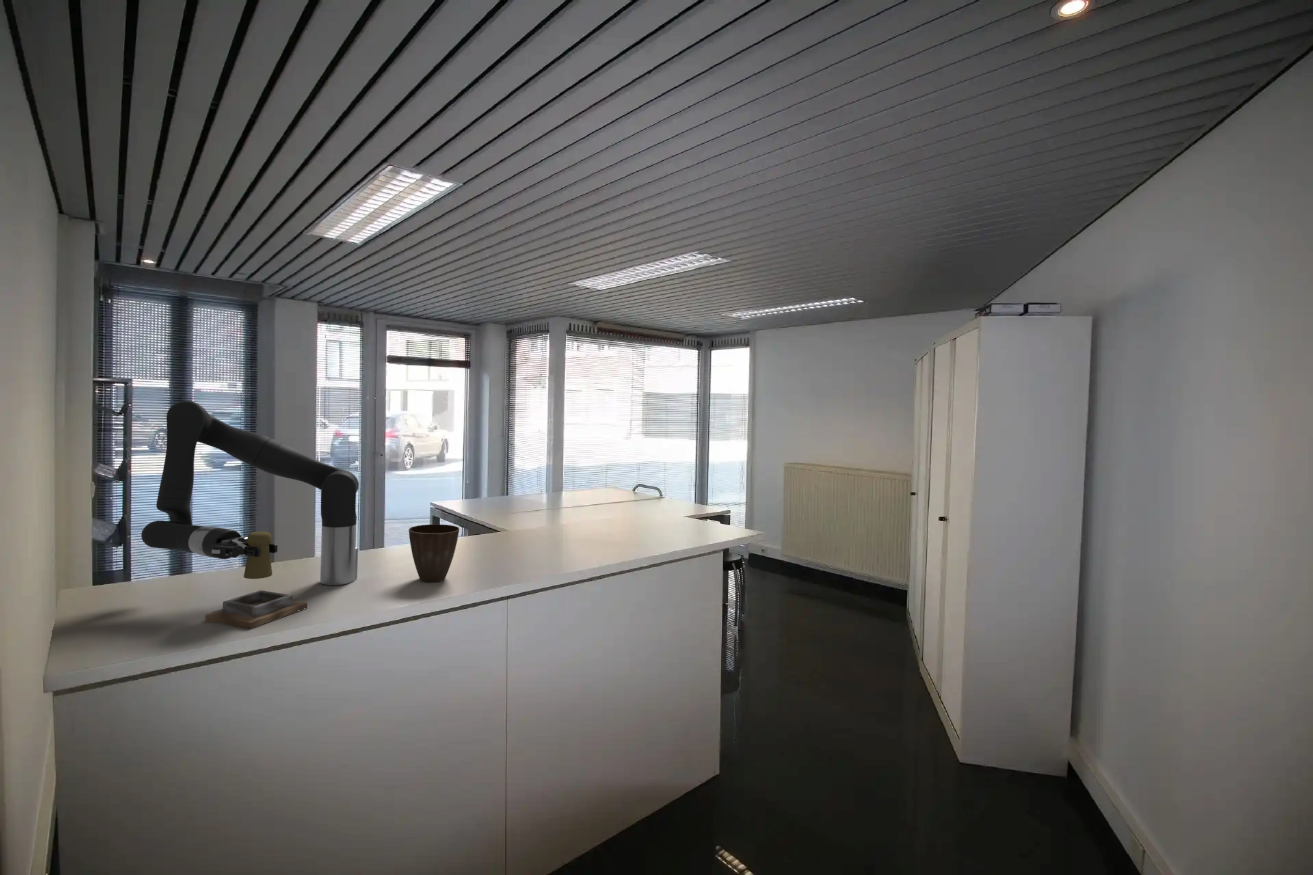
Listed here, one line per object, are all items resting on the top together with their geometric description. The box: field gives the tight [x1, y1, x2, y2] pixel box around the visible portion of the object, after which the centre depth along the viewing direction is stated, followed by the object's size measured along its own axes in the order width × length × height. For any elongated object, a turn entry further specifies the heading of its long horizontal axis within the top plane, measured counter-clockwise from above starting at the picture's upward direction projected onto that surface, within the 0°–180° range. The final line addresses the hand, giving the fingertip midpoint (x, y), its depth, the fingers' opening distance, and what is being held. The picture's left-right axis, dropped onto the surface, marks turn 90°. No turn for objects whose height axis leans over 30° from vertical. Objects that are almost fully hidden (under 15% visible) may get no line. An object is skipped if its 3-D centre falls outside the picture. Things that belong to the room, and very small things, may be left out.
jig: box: [205, 589, 308, 630], centre depth 151 cm, size 16×14×4 cm
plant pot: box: [408, 523, 460, 583], centre depth 189 cm, size 15×15×16 cm
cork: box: [243, 530, 273, 580], centre depth 151 cm, size 6×6×11 cm
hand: (267, 550), depth 150 cm, fingers closed on cork, 4 cm apart
